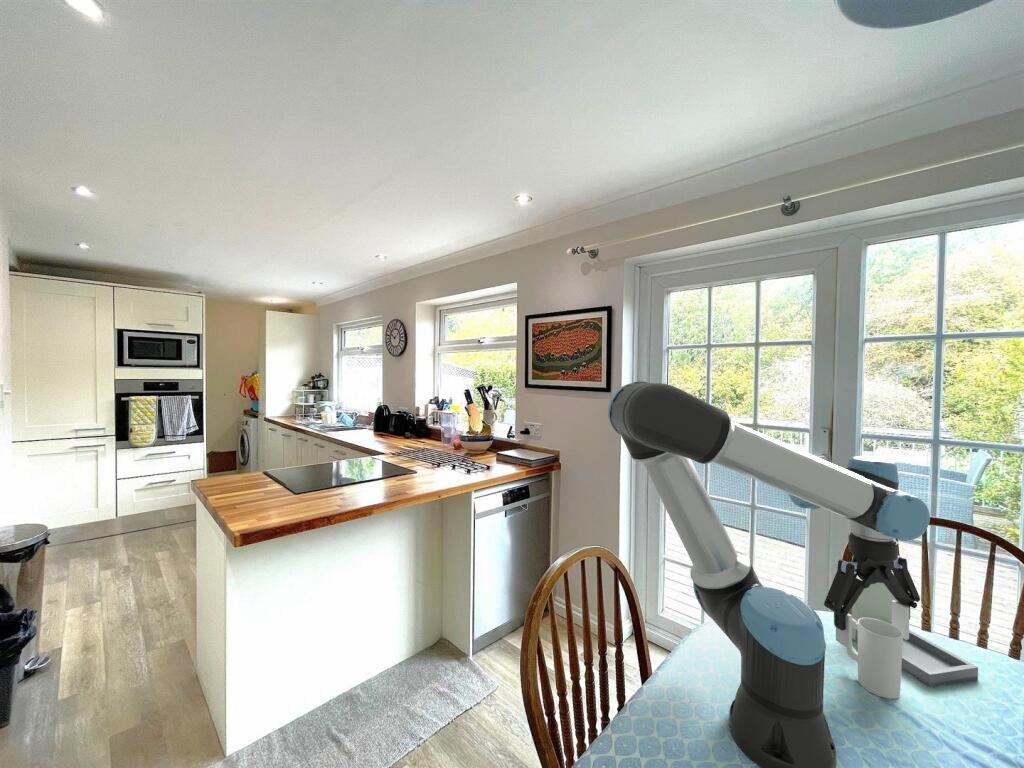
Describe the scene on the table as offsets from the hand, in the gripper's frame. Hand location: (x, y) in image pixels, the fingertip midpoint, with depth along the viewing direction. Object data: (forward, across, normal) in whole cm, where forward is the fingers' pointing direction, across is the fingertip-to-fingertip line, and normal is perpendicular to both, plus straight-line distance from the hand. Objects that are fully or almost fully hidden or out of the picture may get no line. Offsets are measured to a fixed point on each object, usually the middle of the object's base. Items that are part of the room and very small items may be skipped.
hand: (872, 640), depth 85 cm
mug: (+9, -1, 0) cm, 9 cm away
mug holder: (+9, +15, +4) cm, 18 cm away
